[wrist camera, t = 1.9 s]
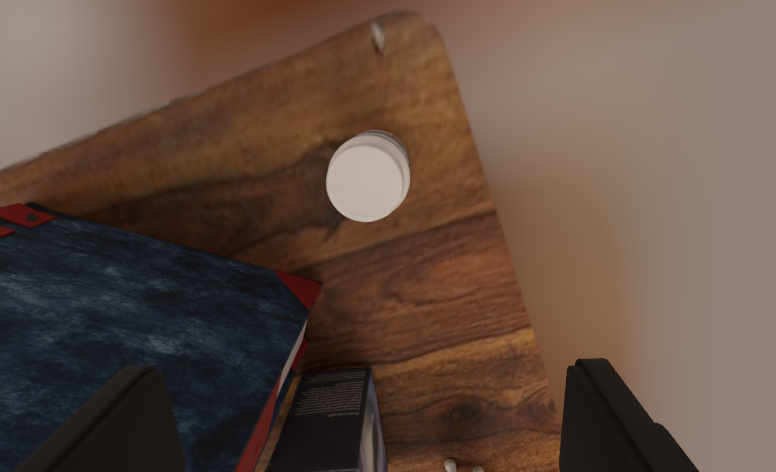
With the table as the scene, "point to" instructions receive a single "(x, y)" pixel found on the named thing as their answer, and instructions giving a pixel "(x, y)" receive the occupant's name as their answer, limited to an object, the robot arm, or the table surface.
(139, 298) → the book
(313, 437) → the small box
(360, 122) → the table surface
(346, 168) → the pill bottle
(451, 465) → the bull figurine
